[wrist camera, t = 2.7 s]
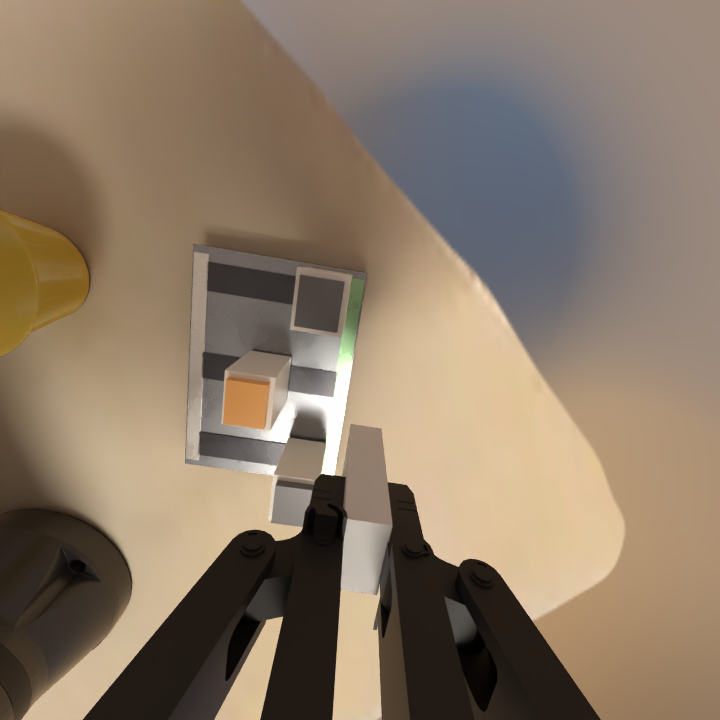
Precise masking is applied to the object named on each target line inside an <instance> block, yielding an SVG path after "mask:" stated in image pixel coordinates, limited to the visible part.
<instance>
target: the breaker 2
mask: <svg viewBox="0 0 720 720" xmlns="http://www.w3.org/2000/svg"><path fill="white" fill-rule="evenodd" d="M351 281H352V274H346V273H340V272H334V271H328V270H323V269H317V268H311V267H297V271H296V280H295V289H294V298H293V307H292V316H291V324H290V330H295V331H302V332H308V333H314V334H321V335H327V336H333V337H339V338H342V335H343V330H344V326H345V320H346V314H347V307H348V301H349V294H350V287H351Z"/></svg>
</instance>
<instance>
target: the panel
mask: <svg viewBox="0 0 720 720" xmlns="http://www.w3.org/2000/svg"><path fill="white" fill-rule="evenodd" d="M297 267H311V268H317V269H323V270H328V271H334V272H340V273H346V274H352V281H351V287H350V294H349V301H348V307H347V314H346V320H345V326H344V330H343V335H342V338H339V337H333V336H327V335H321V334H314V333H308V332H302V331H295V330H290V324H291V316H292V307H293V298H294V289H295V280H296V271H297ZM366 278H367V273H365V272H359V271H353V270H347V269H341V268H335V267H329V266H323V265H317V264H311V263H305V262H299V261H293V260H288V259H282V258H276V257H270V256H264V255H258V254H252V253H246V252H240V251H234V250H228V249H222V248H216V247H211V246H204V245H198V244H193V270H192V295H191V321H190V347H189V373H188V399H187V425H186V450H185V463H186V464H193V465H201V466H208V467H215V468H222V469H230V470H237V471H244V472H251V473H259V474H266V475H274V472H275V470H276V467H277V465H278V462H279V460H280V457H281V455H282V452H283V450H284V447H285V445H286V442H287V440H288V438H295V439H302V440H309V441H316V442H323V443H327V444H326V450H325V457H324V463H323V470H322V474H329V475H334V473H335V467H336V461H337V455H338V449H339V443H340V436H341V430H342V424H343V418H344V412H345V406H346V400H347V394H348V388H349V382H350V375H351V369H352V363H353V357H354V351H355V345H356V339H357V333H358V327H359V321H360V314H361V308H362V302H363V296H364V290H365V284H366ZM250 350H251V351H257V352H263V353H270V354H276V355H283V356H289V357H291V365H290V373H289V382H288V390H287V399H286V402H285V404H284V406H283V408H282V410H281V412H280V414H279V416H278V417H277V419H276V421H275V423H274V425H273V427H272V429H271V431H266V430H260V429H253V428H246V427H239V426H232V425H225V424H221V422H222V407H223V392H224V377H225V370H226V369H227V368H228V367H230V366H231V365H232V364H233V363H235V362H236V361H237V360H239V359H240V358H241V357H243V356H244V355H245V354H246V353H248V352H249V351H250Z"/></svg>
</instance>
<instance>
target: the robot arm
mask: <svg viewBox="0 0 720 720" xmlns="http://www.w3.org/2000/svg"><path fill="white" fill-rule="evenodd" d="M379 584H380V600H379V605H378V609H377V613H376V618H375V622H374V628H373V630H377V627H378V635H379V659H380V684H381V708H382V720H600V718H599V717H598V715H597V714H596V712H595V711H594V709H593V708H592V707H591V705H590V704H589V702H588V701H587V699H586V698H585V696H584V695H583V694H582V692H581V691H580V689H579V688H578V686H577V685H576V684H575V682H574V681H573V679H572V678H571V676H570V675H569V673H568V672H567V671H566V669H565V668H564V666H563V665H562V663H561V662H560V660H559V659H558V658H557V656H556V655H555V653H554V652H553V651H552V649H551V647H550V646H549V645H548V643H547V642H546V640H545V639H544V637H543V636H542V634H541V633H540V632H539V630H538V629H537V627H536V626H535V624H534V623H533V622H532V620H531V619H530V617H529V616H528V614H527V613H526V611H525V610H524V609H523V607H522V606H521V604H520V603H519V601H518V600H517V599H516V597H515V596H514V594H513V593H512V591H511V590H510V588H509V587H508V586H507V584H506V583H505V581H504V580H503V578H502V577H501V576H500V574H499V573H498V572H497V571H496V570H495V569H494V568H493V567H491V566H490V565H488V564H487V563H485V562H482V561H480V560H476V559H468V560H464V561H463V562H462V563H461V564H460V566H459V567H457V566H455V565H452V564H450V563H447V562H445V561H443V560H441V559H439V558H438V557H436V556H435V555H434V553H433V550H432V548H431V546H430V545H429V544H428V543H427V542H426V541H425V540H424V538H423V534H422V529H421V525H420V520H419V516H418V512H417V507H416V505H415V498H414V494H413V493H412V491H411V490H410V489H409V487H408V486H407V485H403V484H396V483H389V482H387V474H386V465H385V457H384V448H383V439H382V431H381V429H380V428H374V427H367V426H360V425H354V424H351V427H350V433H349V439H348V445H347V450H346V456H345V462H344V468H343V475H342V476H335V475H329V474H321V475H320V476H319V477H318V478H317V479H316V480H315V482H314V487H313V491H312V496H311V500H310V505H309V506H308V507H307V509H306V511H305V515H304V522H303V529H302V531H301V532H300V533H299V534H298V535H296V536H295V537H292V538H290V539H286V540H281V541H275V540H274V538H273V537H272V536H271V535H270V534H268V533H267V532H265V531H261V530H249V531H245V532H243V533H240V534H238V535H237V536H236V537H235V538H234V539H232V541H231V542H230V543H229V544H228V545H227V547H226V548H225V549H224V550H223V551H222V553H221V554H220V555H219V556H218V558H217V559H216V560H215V561H214V562H213V564H212V565H211V566H210V567H209V568H208V570H207V571H206V572H205V573H204V574H203V576H202V577H201V578H200V579H199V580H198V582H197V583H196V584H195V585H194V586H193V588H192V589H191V590H190V591H189V592H188V594H187V595H186V596H185V597H184V598H183V600H182V601H181V602H180V603H179V604H178V606H177V607H176V608H175V609H174V610H173V612H172V613H171V614H170V615H169V616H168V618H167V619H166V620H165V621H164V622H163V624H162V625H161V626H160V627H159V629H158V630H157V631H156V632H155V633H154V635H153V636H152V637H151V638H150V639H149V641H148V642H147V643H146V644H145V645H144V647H143V648H142V649H141V650H140V651H139V653H138V654H137V655H136V656H135V657H134V659H133V660H132V661H131V662H130V663H129V665H128V666H127V667H126V668H125V669H124V671H123V672H122V673H121V674H120V675H119V677H118V678H117V679H116V680H115V681H114V683H113V684H112V685H111V686H110V687H109V689H108V690H107V691H106V692H105V693H104V695H103V696H102V697H101V698H100V700H99V701H98V702H97V703H96V704H95V706H94V707H93V708H92V709H91V710H90V712H89V713H88V714H87V715H86V716H85V718H84V719H83V720H214V719H215V717H216V715H217V713H218V711H219V709H220V708H221V706H222V704H223V702H224V700H225V698H226V696H227V694H228V693H229V691H230V689H231V687H232V685H233V683H234V681H235V679H236V677H237V676H238V674H239V672H240V670H241V668H242V666H243V664H244V662H245V661H246V659H247V657H248V655H249V653H250V651H251V649H252V647H253V645H254V644H255V642H256V640H257V638H258V636H259V634H260V632H261V630H262V629H263V627H264V625H265V622H266V620H268V619H273V618H277V617H282V616H283V621H282V625H281V630H280V634H279V639H278V643H277V648H276V652H275V656H274V661H273V665H272V670H271V674H270V679H269V683H268V688H267V692H266V697H265V701H264V706H263V710H262V715H261V719H260V720H332V715H333V699H334V684H335V668H336V653H337V637H338V622H339V606H340V590H345V591H353V592H360V593H368V594H375V595H377V593H378V588H379ZM130 595H131V580H130V575H129V571H128V568H127V566H126V564H125V562H124V560H123V558H122V556H121V555H120V553H119V552H118V551H117V549H116V548H115V547H114V546H113V545H112V544H111V542H110V541H109V540H108V539H106V538H105V537H104V536H103V535H102V534H101V533H99V532H98V531H96V530H95V529H94V528H92V527H90V526H89V525H87V524H85V523H83V522H81V521H79V520H77V519H75V518H72V517H70V516H67V515H64V514H61V513H57V512H52V511H46V510H36V509H26V510H17V511H11V512H7V513H4V514H1V515H0V720H21V719H22V718H23V717H24V715H25V714H26V713H27V711H28V710H29V709H30V707H31V706H32V705H33V704H34V703H35V701H36V700H37V699H38V698H39V697H41V696H42V695H43V694H44V693H45V692H46V691H47V690H48V689H50V688H51V687H52V686H53V685H54V684H55V683H56V682H57V681H59V680H60V679H61V678H62V677H63V676H64V675H65V674H66V673H68V672H69V671H70V670H71V669H72V668H73V667H74V666H75V665H76V664H77V663H78V662H80V661H81V660H82V659H83V658H84V657H85V656H86V655H87V654H88V653H89V652H90V651H91V650H93V649H94V648H95V647H97V646H98V645H99V644H100V643H101V642H102V641H103V640H104V639H105V638H106V637H107V635H108V634H109V633H110V631H111V630H112V629H113V627H114V626H115V624H116V623H117V621H118V620H119V618H120V617H121V615H122V614H123V612H124V611H125V609H126V607H127V605H128V602H129V599H130Z"/></svg>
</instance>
